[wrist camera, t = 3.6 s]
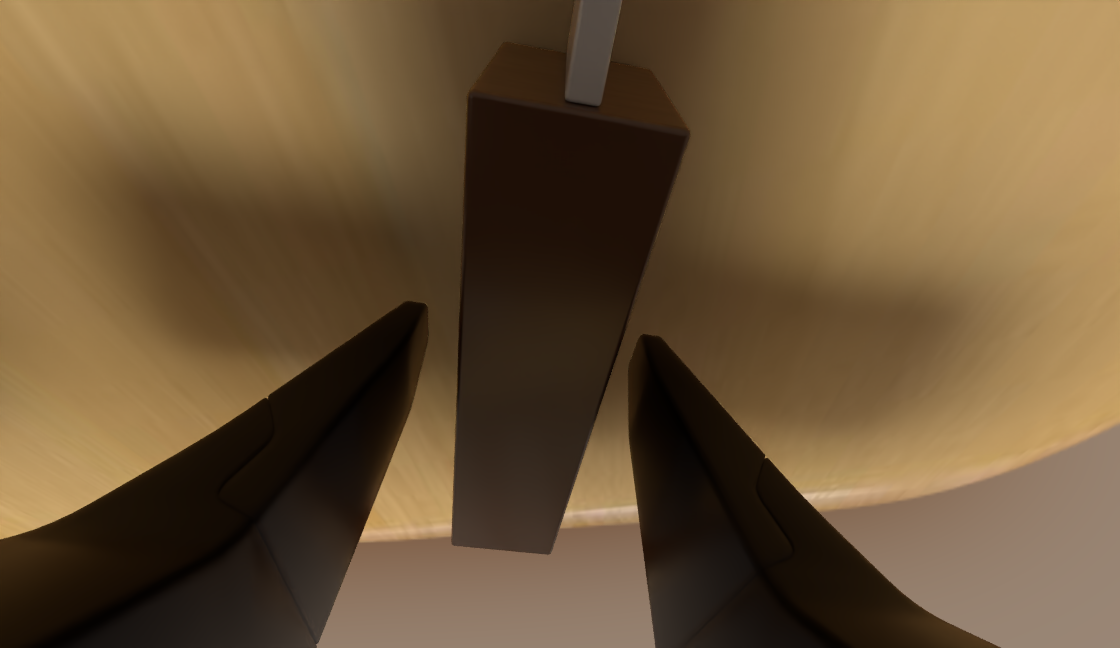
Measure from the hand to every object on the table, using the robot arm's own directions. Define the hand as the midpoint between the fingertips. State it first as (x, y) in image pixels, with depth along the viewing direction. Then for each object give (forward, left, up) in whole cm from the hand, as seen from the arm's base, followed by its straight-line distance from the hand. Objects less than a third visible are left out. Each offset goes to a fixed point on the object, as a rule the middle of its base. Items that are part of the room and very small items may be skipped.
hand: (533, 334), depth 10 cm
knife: (+5, 0, -1) cm, 5 cm away
